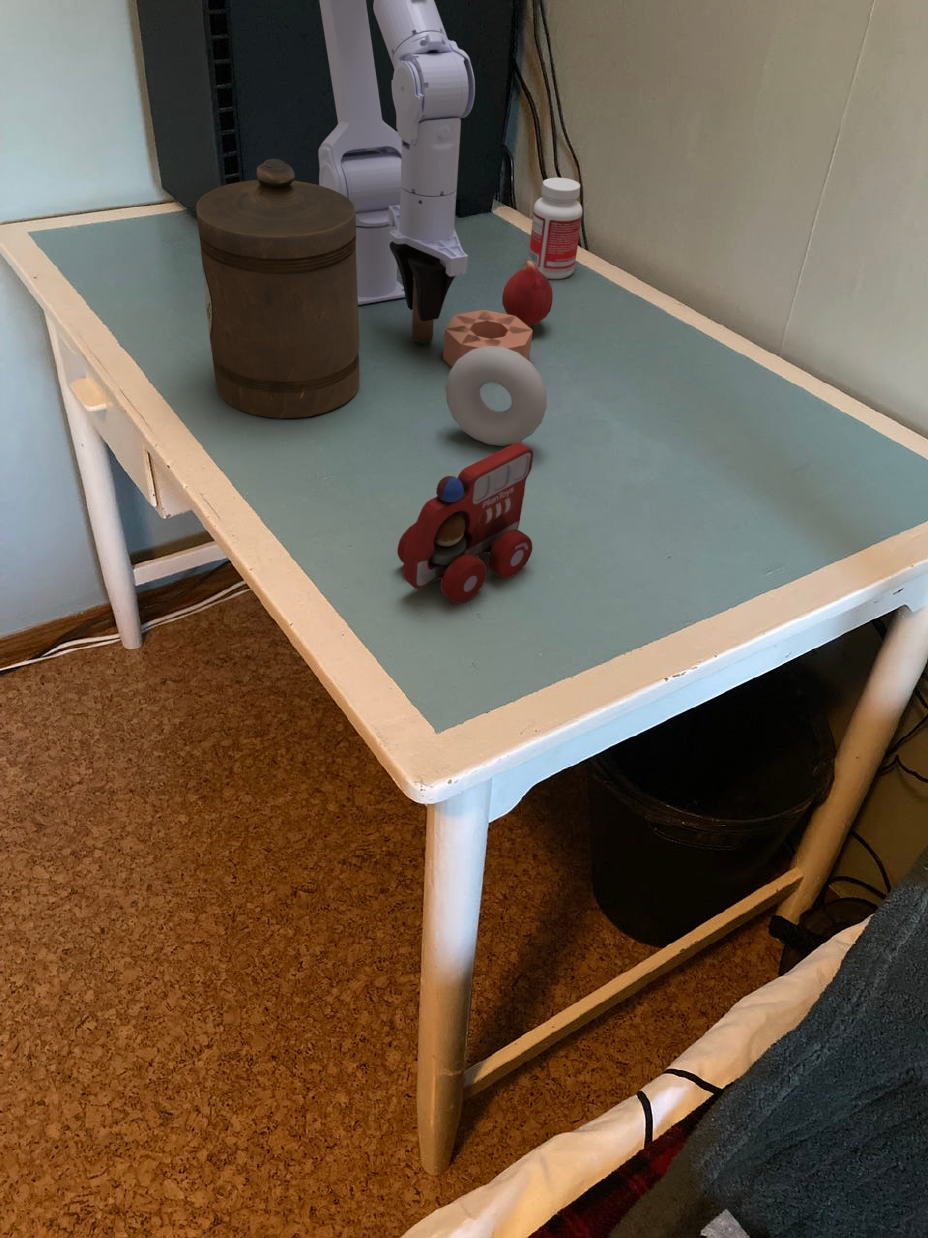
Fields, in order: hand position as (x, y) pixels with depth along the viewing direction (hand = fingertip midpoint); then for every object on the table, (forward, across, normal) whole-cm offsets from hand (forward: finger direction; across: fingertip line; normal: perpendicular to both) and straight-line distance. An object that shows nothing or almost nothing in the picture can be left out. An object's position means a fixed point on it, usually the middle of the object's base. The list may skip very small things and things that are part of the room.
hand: (423, 312), depth 107 cm
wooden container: (+4, +3, -17) cm, 18 cm away
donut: (+4, +21, -3) cm, 22 cm away
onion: (+4, +1, +13) cm, 14 cm away
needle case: (+3, 0, 0) cm, 3 cm away
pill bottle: (+4, -12, +25) cm, 28 cm away
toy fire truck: (+4, +37, -15) cm, 40 cm away
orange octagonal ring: (+3, +6, +5) cm, 9 cm away
